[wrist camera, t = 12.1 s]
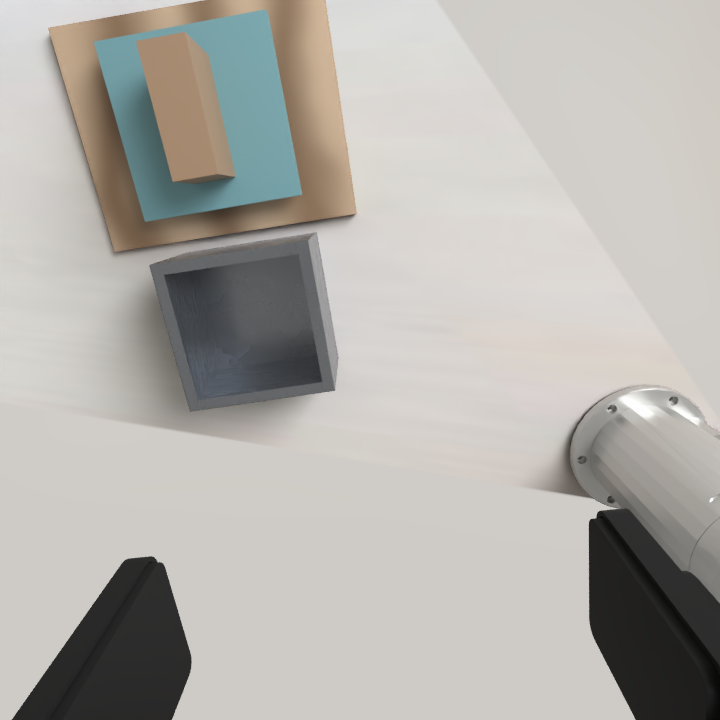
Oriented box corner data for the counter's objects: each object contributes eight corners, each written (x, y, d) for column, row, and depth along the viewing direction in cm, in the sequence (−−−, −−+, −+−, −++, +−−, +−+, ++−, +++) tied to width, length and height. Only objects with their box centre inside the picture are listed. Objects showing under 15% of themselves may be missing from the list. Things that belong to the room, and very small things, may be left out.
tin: (316, 232, 41) (307, 240, 34) (338, 357, 45) (334, 390, 37) (186, 252, 42) (149, 265, 34) (217, 375, 45) (190, 411, 38)
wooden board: (323, -16, 36) (322, -21, 35) (356, 213, 41) (356, 213, 40) (54, 31, 37) (48, 27, 36) (119, 250, 42) (114, 251, 41)
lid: (271, 21, 36) (251, -22, 29) (304, 195, 40) (293, 194, 33) (110, 51, 36) (51, 16, 29) (157, 220, 40) (114, 225, 33)
